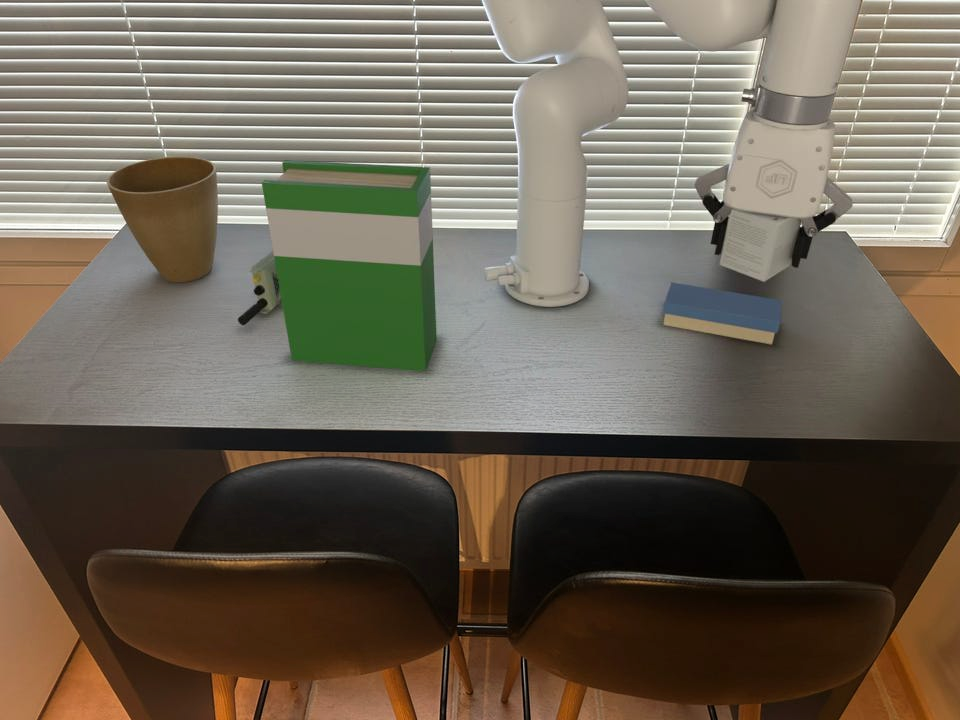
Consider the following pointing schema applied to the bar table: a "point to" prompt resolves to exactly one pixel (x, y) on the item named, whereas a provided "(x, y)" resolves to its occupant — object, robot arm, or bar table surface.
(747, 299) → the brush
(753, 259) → the product box
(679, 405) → the bar table surface
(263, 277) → the handheld radio
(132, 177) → the plant pot
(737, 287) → the bar table surface
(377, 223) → the hardback book
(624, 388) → the bar table surface
